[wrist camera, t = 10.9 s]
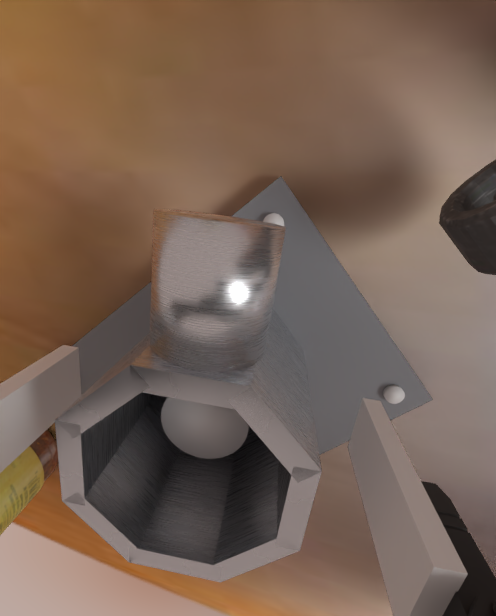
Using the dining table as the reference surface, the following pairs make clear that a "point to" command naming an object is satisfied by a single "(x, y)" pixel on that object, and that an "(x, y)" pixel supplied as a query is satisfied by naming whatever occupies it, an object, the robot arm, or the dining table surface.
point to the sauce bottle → (26, 477)
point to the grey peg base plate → (306, 329)
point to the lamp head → (208, 390)
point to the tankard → (474, 219)
